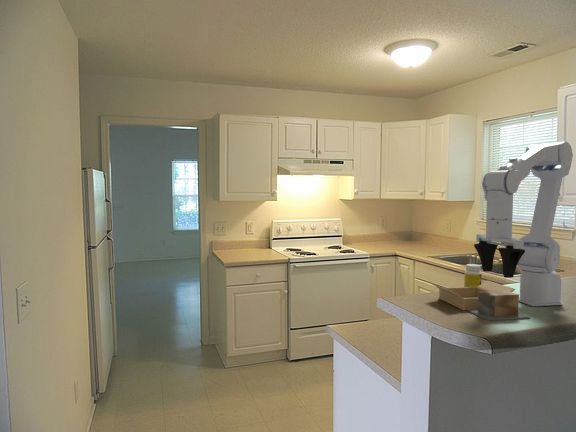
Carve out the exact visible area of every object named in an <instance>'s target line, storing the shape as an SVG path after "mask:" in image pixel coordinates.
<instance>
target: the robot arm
mask: <svg viewBox="0 0 576 432" xmlns="http://www.w3.org/2000/svg"><path fill="white" fill-rule="evenodd" d="M572 162H573V149H572V145H571V144H570V143H569V142H568V141H560V142H553V143H539V144H529V145H528V146H527V147H525V152H524V154H523V155H522V156H521V157H517V156H516V157H515V156H514V157H509V159H508V161H507V162H506V163H505V164H503V165H500V167H499V168H497V169H496V170H490V171H488V172H487V173H485V174H484V177H483V179H482V181H481V184H482V189H483V192H484V200H485V201H486V212H485V213H486V218H485V220H486V221H485V223H486V224H485V225H486V226H485V234H482V233H479V234H476V235H475V236H476V239H475V240H476V241H475V242H476V243H474V244H473V247H474V249H475V250H476V252H477V255H478V257H479V260H480V266H481V268H482V269H481V270H482V272H485V273H486V272H492V271H493V267H494V261H495V254H496V251H497V248H498V252H499V254H500V257H501V262H502V276H503V278H506V279H507V278H510V279H511V278H514V275H515V273H516V269H518V270H520V278H519V281H520V282H519V303H522V304H526V305H528V306H531V307H541V306H542V307H543V306H545V307H546V306H561V305H564V302H562V301H561V299H562V297H561V296H562V278H561V276H560V274H559V273H558V272H557V271H556V270H557V269H558V268H559V266H560V263H561V245H560V244H559V242H558V241H556V240H555V239H554V238H553V237H552V231H553V226H554V225H553V224H554V222H555V215H556V211H557V207H558V202H559V196H560V193H561V187H562V182H563V179H564V177H567V176H568V175H569V174H570V169H571V166H572ZM530 173H532V175H533V176H534V177H536V178H537V179H540V183H539V189H538V193H537V198H536V202H535V207H534V211H533V215H532V221H531V225H530V230H529V233H527V234H526V235H523V236H522V237H520V238H519V239H518V238H516V237H513V215H514V214H513V210H514V208H513V207H514V194H516V193H517V192H518V189H519V186H520V185H521V182H522V181H523V180H524V179H526V178H527V177H528V176H529V175H530ZM477 242H478V243H477ZM498 246H502V247H498Z"/></svg>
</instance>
